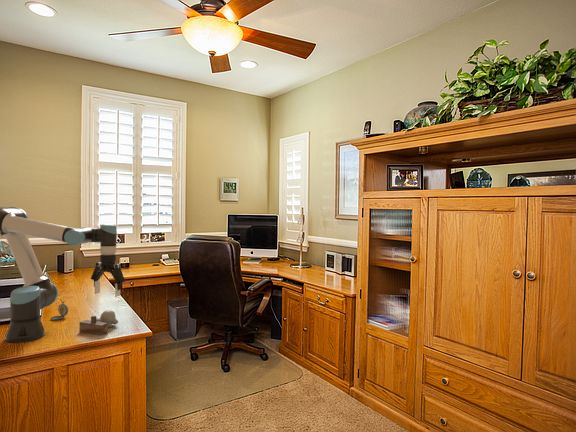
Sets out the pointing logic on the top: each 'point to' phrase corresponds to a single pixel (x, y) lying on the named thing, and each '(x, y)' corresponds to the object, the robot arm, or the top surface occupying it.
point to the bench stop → (93, 326)
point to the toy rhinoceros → (108, 318)
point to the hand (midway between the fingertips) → (107, 294)
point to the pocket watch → (61, 312)
